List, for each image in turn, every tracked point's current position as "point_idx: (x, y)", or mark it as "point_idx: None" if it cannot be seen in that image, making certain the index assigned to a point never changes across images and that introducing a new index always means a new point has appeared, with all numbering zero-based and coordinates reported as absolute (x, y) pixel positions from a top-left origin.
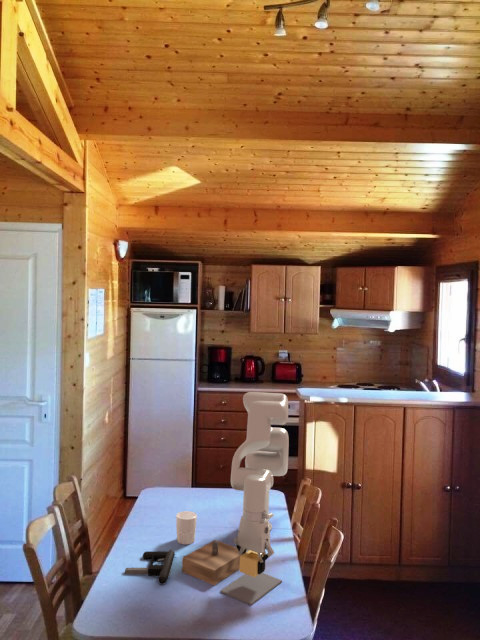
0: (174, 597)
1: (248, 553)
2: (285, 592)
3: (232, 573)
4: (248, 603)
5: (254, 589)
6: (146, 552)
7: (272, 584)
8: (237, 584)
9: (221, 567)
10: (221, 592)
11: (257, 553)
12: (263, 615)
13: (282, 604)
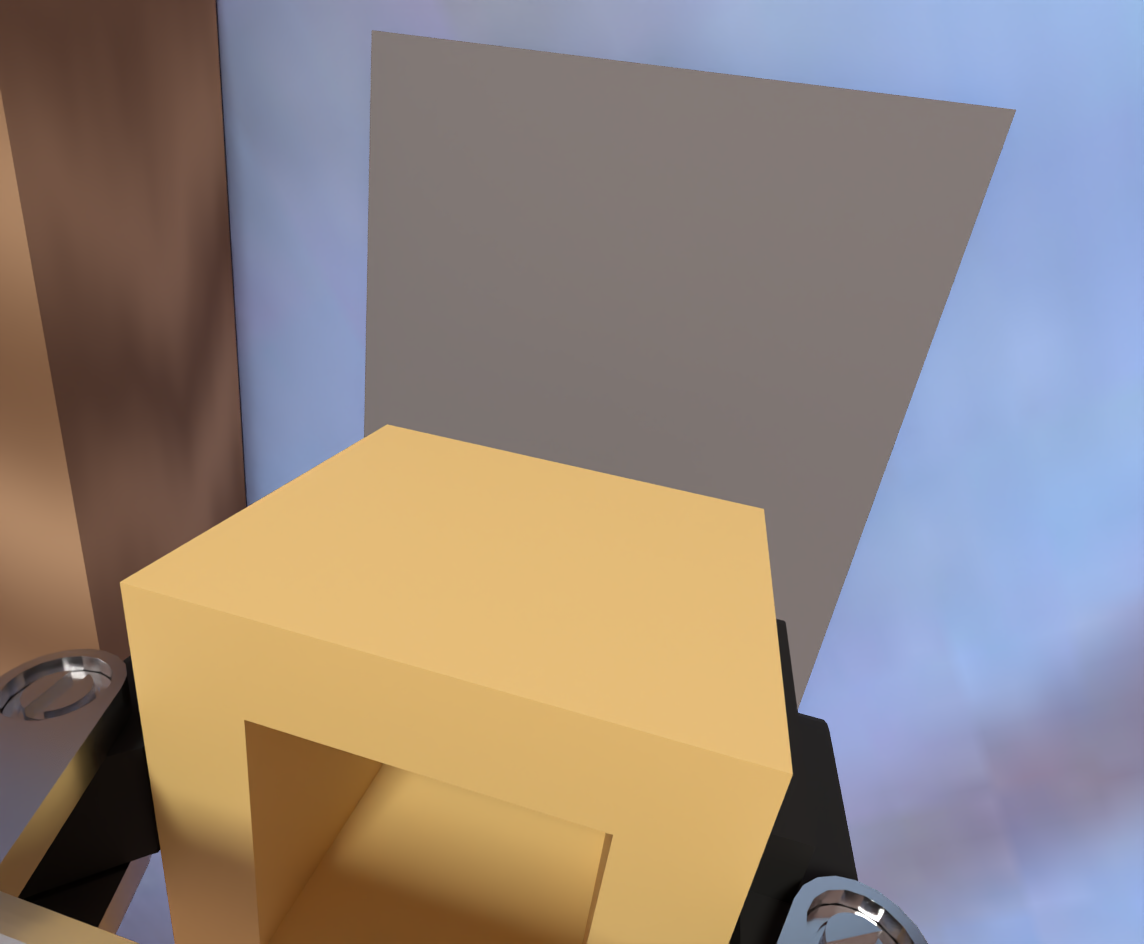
0: (157, 858)
1: (244, 828)
2: (1130, 411)
3: (231, 297)
4: None
5: None
6: None
7: (871, 344)
8: None
9: (110, 604)
10: None
11: (463, 758)
12: (934, 924)
13: (1129, 705)
